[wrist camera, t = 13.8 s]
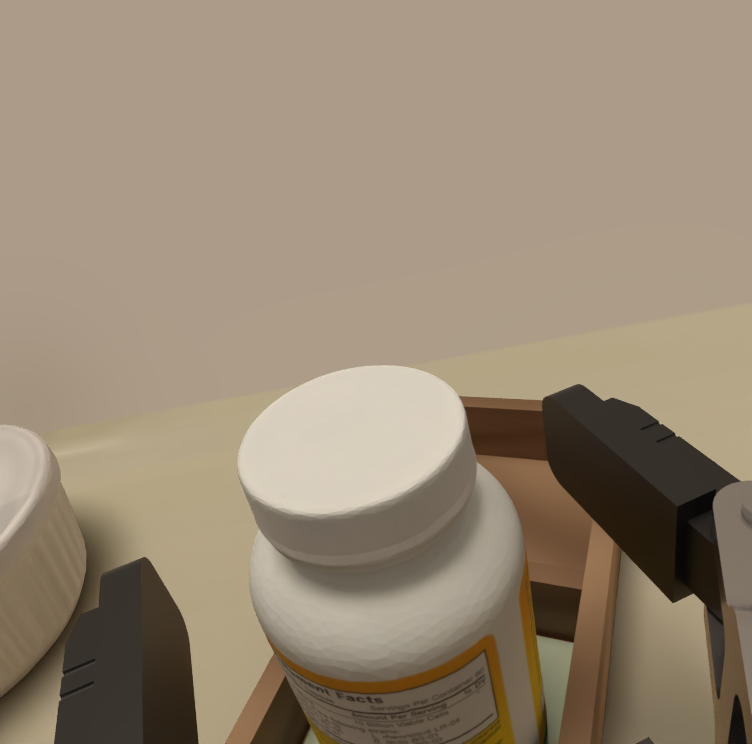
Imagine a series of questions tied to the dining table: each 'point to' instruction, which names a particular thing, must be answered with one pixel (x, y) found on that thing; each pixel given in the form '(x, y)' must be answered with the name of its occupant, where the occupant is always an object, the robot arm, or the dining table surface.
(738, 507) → the robot arm
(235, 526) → the dining table surface
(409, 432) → the supplement bottle
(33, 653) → the ramekin
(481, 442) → the wooden compartment tray
